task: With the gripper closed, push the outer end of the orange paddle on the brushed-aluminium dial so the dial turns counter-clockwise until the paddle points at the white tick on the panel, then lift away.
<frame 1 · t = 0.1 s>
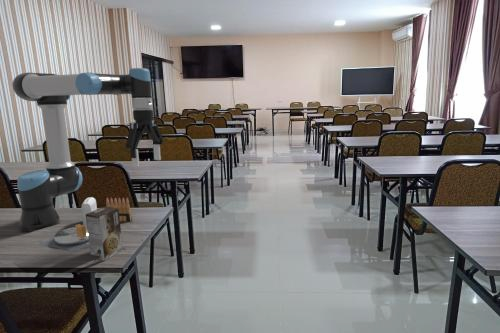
hand: (147, 162, 138), 28 cm above the table, fingers open, 13 cm apart
photo printer: (91, 226, 148), on the table
panel: (76, 242, 131), on the table
ammunition clip: (119, 224, 149), on the table
coffee box: (107, 254, 120), on the table
dial: (75, 230, 130), point 5 cm above the table, hinge at -15.0°
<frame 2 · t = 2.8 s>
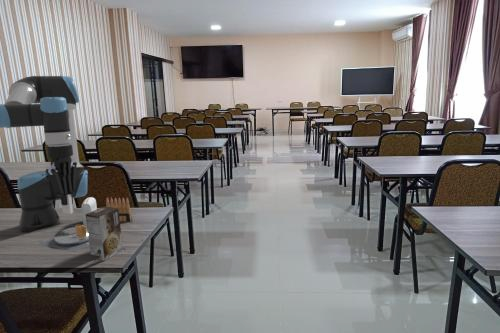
hand: (68, 213, 117), 15 cm above the table, fingers closed
nothing on the table moved.
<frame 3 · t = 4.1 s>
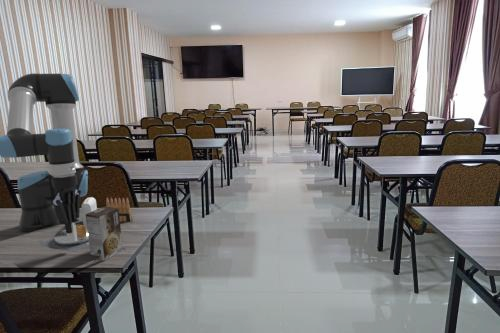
hand: (72, 240, 120), 5 cm above the table, fingers closed
nothing on the table moved.
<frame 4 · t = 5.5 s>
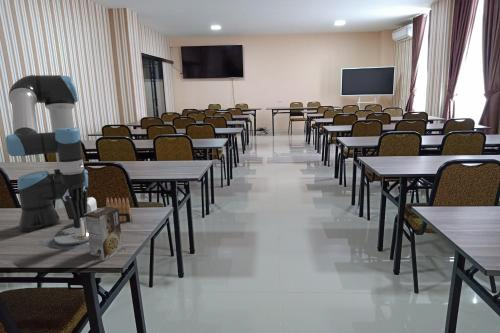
hand: (80, 235, 125), 5 cm above the table, fingers closed
dial: (75, 230, 130), point 5 cm above the table, hinge at -15.0°, touching gripper
everything else where it was.
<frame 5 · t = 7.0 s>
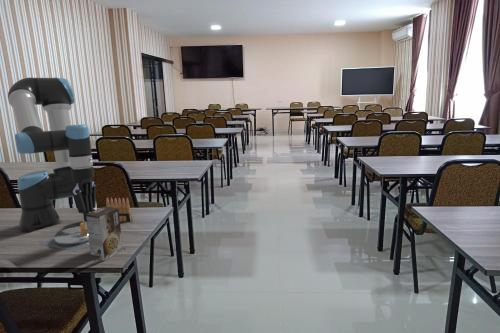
hand: (89, 228, 129), 6 cm above the table, fingers closed
dial: (75, 230, 130), point 5 cm above the table, hinge at 28.5°, touching gripper
everything else where it was.
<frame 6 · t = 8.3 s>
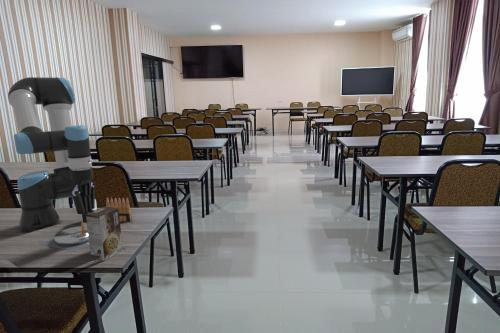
hand: (88, 229, 129), 5 cm above the table, fingers closed
dial: (75, 230, 130), point 5 cm above the table, hinge at 44.0°
everything else where it was.
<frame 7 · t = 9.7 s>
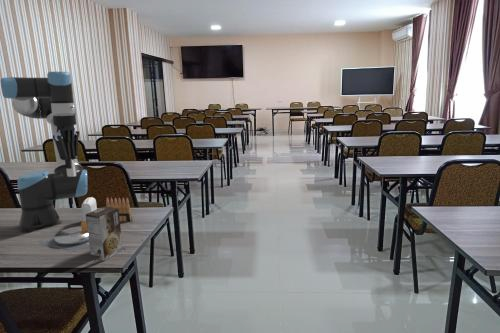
hand: (71, 175, 132), 25 cm above the table, fingers closed
nothing on the table moved.
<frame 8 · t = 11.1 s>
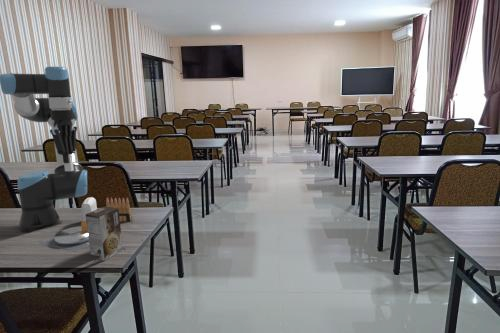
hand: (69, 170, 133), 26 cm above the table, fingers closed
nothing on the table moved.
at the end: dial at +44° (first picture: -15°) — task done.
